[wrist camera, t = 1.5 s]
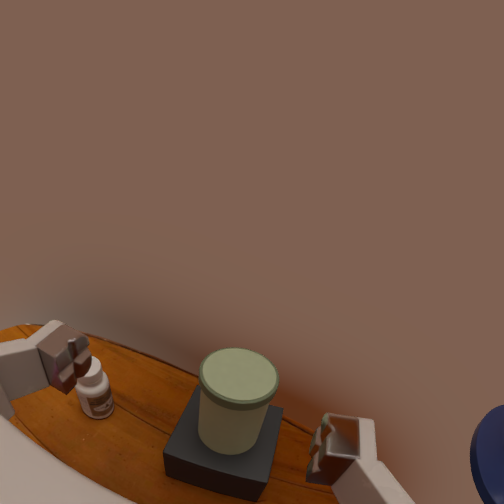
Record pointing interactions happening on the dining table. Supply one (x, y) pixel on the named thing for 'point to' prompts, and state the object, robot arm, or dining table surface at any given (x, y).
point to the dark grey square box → (221, 456)
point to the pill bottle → (95, 392)
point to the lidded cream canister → (234, 398)
